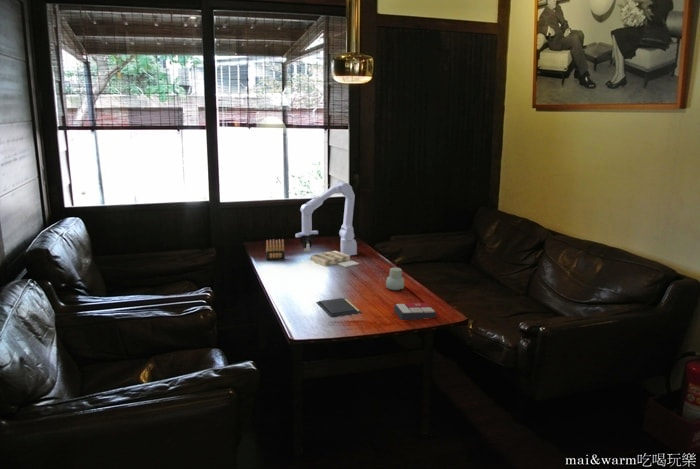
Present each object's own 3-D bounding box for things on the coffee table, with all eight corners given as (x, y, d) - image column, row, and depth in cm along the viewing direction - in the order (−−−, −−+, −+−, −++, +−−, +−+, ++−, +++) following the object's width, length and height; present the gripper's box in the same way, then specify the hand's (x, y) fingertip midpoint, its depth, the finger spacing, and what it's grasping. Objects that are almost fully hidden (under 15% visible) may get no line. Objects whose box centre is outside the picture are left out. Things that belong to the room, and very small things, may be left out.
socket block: (335, 255, 320) (335, 250, 319) (349, 260, 309) (349, 255, 309) (310, 260, 309) (310, 255, 308) (324, 266, 298) (324, 260, 298)
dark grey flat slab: (315, 299, 243) (346, 295, 249) (315, 303, 244) (346, 299, 249) (329, 315, 225) (363, 310, 230) (329, 319, 226) (363, 314, 231)
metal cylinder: (307, 250, 315) (307, 239, 313) (310, 251, 312) (310, 240, 311) (303, 251, 313) (303, 240, 311) (306, 252, 310) (306, 241, 309)
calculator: (436, 311, 226) (402, 311, 222) (435, 320, 227) (401, 321, 223) (427, 302, 236) (394, 302, 233) (426, 311, 237) (393, 311, 234)
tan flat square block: (330, 256, 311) (330, 254, 311) (334, 257, 308) (334, 256, 308) (325, 257, 309) (325, 255, 309) (329, 258, 306) (329, 257, 306)
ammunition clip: (284, 258, 312) (284, 238, 310) (284, 259, 311) (284, 239, 308) (265, 259, 310) (265, 239, 308) (266, 260, 309) (265, 239, 306)
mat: (351, 261, 308) (351, 260, 308) (359, 264, 303) (359, 263, 303) (337, 264, 302) (337, 263, 302) (345, 267, 297) (345, 266, 297)
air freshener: (402, 292, 257) (403, 272, 255) (385, 291, 259) (386, 271, 256) (404, 285, 268) (405, 266, 265) (388, 284, 269) (388, 265, 267)
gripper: (313, 222, 316) (313, 244, 319) (292, 225, 307) (292, 248, 311) (320, 224, 311) (320, 246, 314) (299, 227, 302) (299, 250, 305)
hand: (307, 247), depth 312 cm, fingers closed on metal cylinder, 3 cm apart
